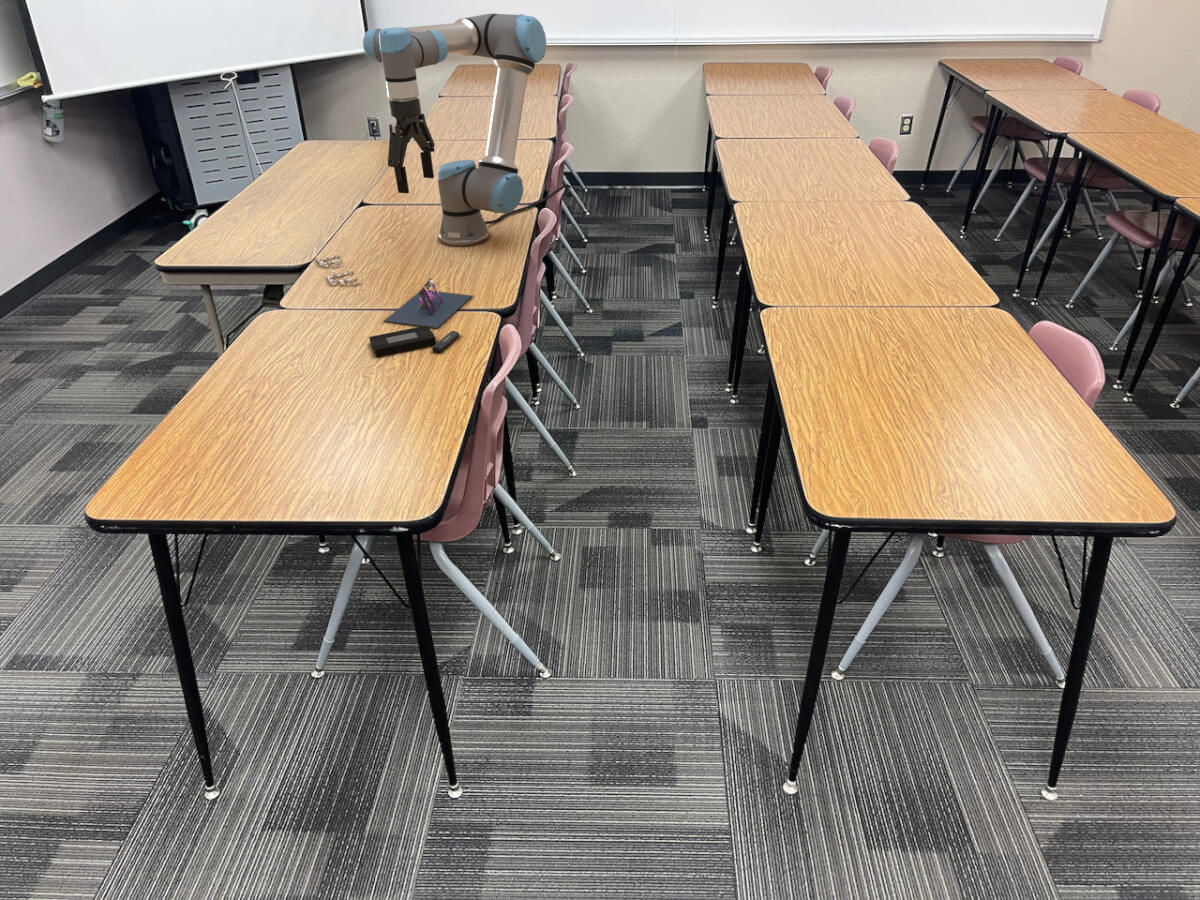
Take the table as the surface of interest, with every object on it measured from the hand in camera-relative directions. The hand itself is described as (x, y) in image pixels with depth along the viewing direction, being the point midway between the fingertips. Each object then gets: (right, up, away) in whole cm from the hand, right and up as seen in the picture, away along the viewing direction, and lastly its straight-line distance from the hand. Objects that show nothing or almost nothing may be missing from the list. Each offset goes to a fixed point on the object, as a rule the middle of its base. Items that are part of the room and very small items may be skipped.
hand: (416, 185), depth 213 cm
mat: (+3, -33, 0) cm, 33 cm away
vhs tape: (+1, -44, -17) cm, 47 cm away
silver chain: (-28, -18, +22) cm, 40 cm away
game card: (+3, -33, -1) cm, 33 cm away
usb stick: (+11, -44, -17) cm, 49 cm away
